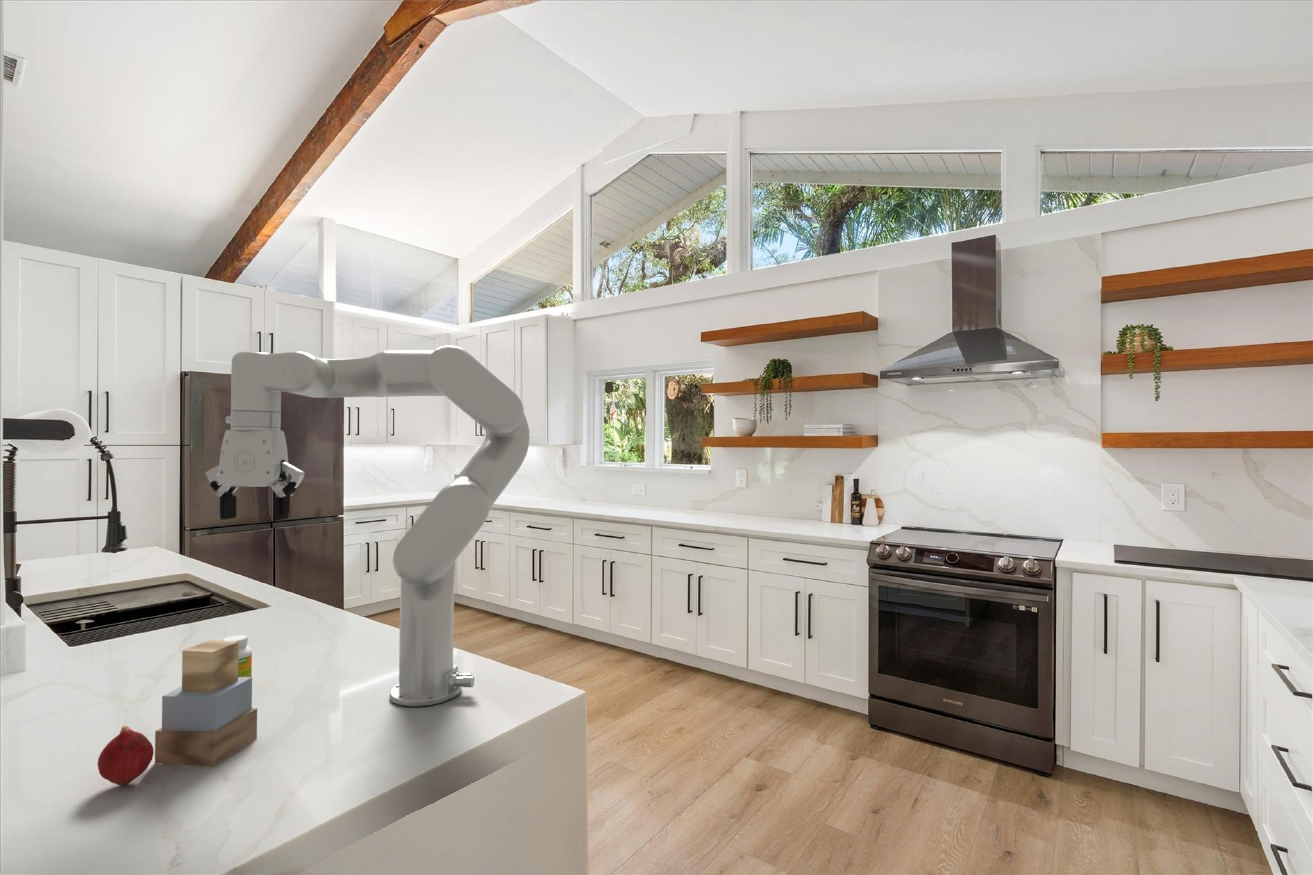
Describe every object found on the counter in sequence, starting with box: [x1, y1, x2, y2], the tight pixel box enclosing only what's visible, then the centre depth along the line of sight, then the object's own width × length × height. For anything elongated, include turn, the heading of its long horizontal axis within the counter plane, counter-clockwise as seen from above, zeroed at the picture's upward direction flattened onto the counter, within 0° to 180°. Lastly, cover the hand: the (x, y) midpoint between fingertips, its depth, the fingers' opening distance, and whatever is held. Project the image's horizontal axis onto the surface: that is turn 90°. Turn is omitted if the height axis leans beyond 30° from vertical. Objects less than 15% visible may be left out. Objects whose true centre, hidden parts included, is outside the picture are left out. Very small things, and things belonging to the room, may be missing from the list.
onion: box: [97, 725, 154, 787], centre depth 87 cm, size 6×6×8 cm
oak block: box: [181, 639, 239, 693], centre depth 98 cm, size 5×5×6 cm
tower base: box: [154, 707, 258, 768], centre depth 97 cm, size 9×9×5 cm
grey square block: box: [161, 676, 253, 731], centre depth 97 cm, size 8×8×5 cm
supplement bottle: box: [222, 634, 253, 678], centre depth 121 cm, size 5×5×10 cm
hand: (254, 518), depth 113 cm, fingers open, 9 cm apart
